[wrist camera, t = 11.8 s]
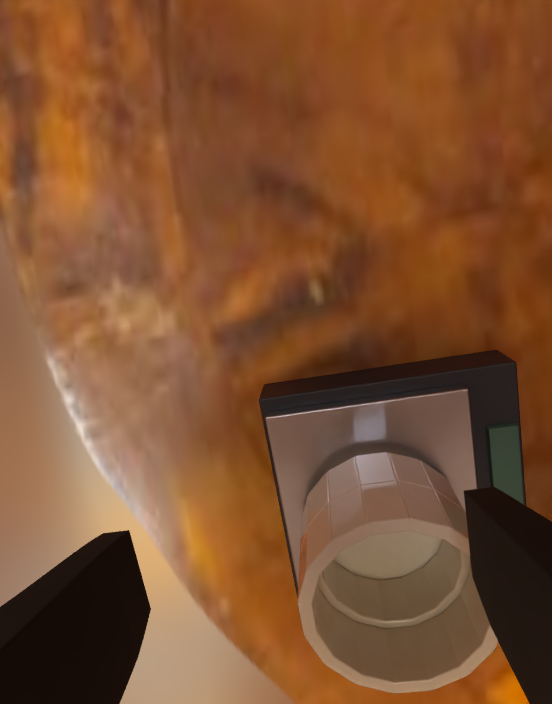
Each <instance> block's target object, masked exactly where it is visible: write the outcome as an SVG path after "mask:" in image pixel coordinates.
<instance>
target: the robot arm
mask: <svg viewBox="0 0 552 704" xmlns="http://www.w3.org/2000/svg"><path fill="white" fill-rule="evenodd" d="M464 499H465V509H466V519H467V529H468V539H469V549H470V559H471V569H472V577H473V580H474V583H475V586H476V588H477V591H478V594H479V597H480V599H481V602H482V605H483V608H484V610H485V613H486V615H487V618H488V621H489V623H490V626H491V628H492V630H493V632H494V634H495V636H496V638H497V640H498V642H499V644H500V646H501V648H502V650H503V652H504V654H505V656H506V658H507V660H508V662H509V664H510V666H511V668H512V670H513V672H514V674H515V676H516V678H517V680H518V681H519V683H520V685H521V687H522V689H523V691H524V693H525V695H526V697H527V699H528V701H529V703H530V704H552V522H551V521H549V520H548V519H546V518H544V517H543V516H541V515H540V514H538V513H536V512H535V511H533V510H532V509H530V508H528V507H527V506H525V505H524V504H522V503H520V502H519V501H517V500H516V499H514V498H512V497H511V496H509V495H508V494H506V493H504V492H503V491H501V490H499V489H497V488H496V487H489V488H481V489H472V490H464ZM150 610H151V608H150V604H149V601H148V597H147V594H146V590H145V586H144V583H143V579H142V575H141V572H140V569H139V565H138V561H137V557H136V554H135V551H134V547H133V543H132V540H131V535H130V532H129V530H128V531H119V532H111V533H103V534H101V535H100V536H98V537H97V538H95V539H93V540H92V541H90V542H89V543H87V544H86V545H85V546H83V547H81V548H80V549H79V550H77V551H76V552H74V553H73V554H72V555H70V556H69V557H68V558H66V559H65V560H64V561H62V562H61V563H60V564H58V565H57V566H56V567H54V568H53V569H51V570H50V571H49V572H47V573H46V574H45V575H43V576H42V577H41V578H40V579H38V580H37V581H35V582H34V583H33V584H31V585H30V586H29V587H27V588H26V589H25V590H23V591H22V592H21V593H19V594H18V595H16V596H15V597H14V598H12V599H11V600H9V601H8V602H7V603H5V604H4V605H2V606H1V607H0V704H119V703H120V701H121V699H122V696H123V694H124V691H125V689H126V686H127V684H128V681H129V679H130V676H131V674H132V671H133V668H134V666H135V663H136V661H137V658H138V655H139V652H140V648H141V644H142V641H143V638H144V634H145V630H146V626H147V622H148V618H149V614H150Z"/></svg>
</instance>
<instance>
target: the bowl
mask: <svg viewBox="0 0 552 704" xmlns="http://www.w3.org/2000/svg"><path fill="white" fill-rule="evenodd" d="M298 608H299V614H300V619H301V624H302V629H303V634H304V636H305V638H306V639H307V641H308V642H309V643H310V645H311V646H312V648H313V649H314V650H315V652H316V653H317V655H318V656H319V657H320V659H321V660H322V661H323V663H324V664H325V665H326V666H328V667H329V668H331V669H333V670H334V671H336V672H337V673H339V674H340V675H342V676H343V677H345V678H347V679H348V680H350V681H351V682H353V683H354V684H357V685H360V686H364V687H369V688H373V689H377V690H381V691H385V692H389V693H393V692H394V693H407V692H421V691H431V690H435V689H438V688H440V687H442V686H445V685H447V684H449V683H452V682H454V681H457V680H459V679H461V678H464V677H466V676H467V675H469V674H470V673H471V672H472V671H473V670H474V669H476V668H477V667H478V666H479V665H480V664H481V663H482V662H483V661H484V660H485V659H486V658H487V657H488V656H489V655H490V654H491V653H492V652H493V651H494V650H495V648H496V646H497V643H498V640H497V638H496V636H495V634H494V632H493V630H492V628H491V626H490V623H489V621H488V618H487V615H486V613H485V610H484V608H483V605H482V602H481V599H480V597H479V594H478V591H477V588H476V586H475V583H474V580H473V577H472V569H471V559H470V549H469V539H468V529H467V519H466V510H465V508H464V507H463V505H462V503H461V501H460V499H459V498H458V496H457V495H456V493H455V491H454V490H453V488H452V486H451V485H450V483H449V482H448V480H447V479H446V478H445V477H444V476H443V475H442V474H440V473H439V472H437V471H436V470H434V469H433V468H432V467H430V466H429V465H427V464H426V463H424V462H423V461H421V460H418V459H415V458H411V457H406V456H402V455H398V454H393V453H387V452H382V453H374V454H367V455H359V456H355V457H353V458H351V459H349V460H347V461H345V462H343V463H342V464H340V465H338V466H336V467H334V468H332V469H330V470H329V471H328V472H327V473H325V474H324V476H323V477H322V478H321V479H320V481H319V482H318V483H317V484H316V485H315V487H314V488H313V489H312V490H311V492H310V493H309V495H308V497H307V500H306V504H305V507H304V511H303V515H302V519H301V536H300V556H299V580H298Z"/></svg>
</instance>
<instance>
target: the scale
mask: <svg viewBox="0 0 552 704" xmlns="http://www.w3.org/2000/svg"><path fill="white" fill-rule="evenodd" d="M259 403H260V408H261V413H262V418H263V423H264V429H265V434H266V439H267V444H268V449H269V454H270V459H271V464H272V469H273V475H274V480H275V485H276V490H277V495H278V500H279V505H280V510H281V516H282V521H283V526H284V531H285V536H286V541H287V546H288V551H289V557H290V562H291V567H292V572H293V577H294V582H295V587H296V592H297V597H298V580H299V556H300V536H301V519H302V515H303V511H304V507H305V504H306V500H307V497H308V495H309V493H310V492H311V490H312V489H313V488H314V487H315V485H316V484H317V483H318V482H319V481H320V479H321V478H322V477H323V476H324V474H325V473H327V472H328V471H329V470H330V469H332V468H334V467H336V466H338V465H340V464H342V463H343V462H345V461H347V460H349V459H351V458H353V457H355V456H359V455H367V454H374V453H382V452H387V453H393V454H398V455H402V456H406V457H411V458H415V459H418V460H421V461H423V462H424V463H426V464H427V465H429V466H430V467H432V468H433V469H434V470H436V471H437V472H439V473H440V474H442V475H443V476H444V477H445V478H446V479H447V480H448V482H449V483H450V485H451V486H452V488H453V490H454V491H455V493H456V495H457V496H458V498H459V499H460V501H461V503H462V505H463V507H464V508H465V499H464V490H472V489H481V488H489V487H496V488H497V489H499V490H501V491H503V492H504V493H506V494H508V495H509V496H511V497H512V498H514V499H516V500H517V501H519V502H520V503H522V504H524V505H525V506H526V497H525V483H524V469H523V454H522V440H521V426H520V411H519V397H518V383H517V368H516V362H515V361H514V360H512V359H510V358H509V357H507V356H506V355H504V354H503V353H501V352H499V351H498V350H493V351H486V352H479V353H473V354H466V355H459V356H453V357H446V358H439V359H433V360H426V361H419V362H413V363H406V364H399V365H392V366H386V367H379V368H372V369H366V370H359V371H352V372H346V373H339V374H332V375H326V376H319V377H312V378H305V379H299V380H292V381H285V382H279V383H272V384H265V385H264V386H263V389H262V392H261V395H260V399H259ZM465 510H466V509H465Z"/></svg>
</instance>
